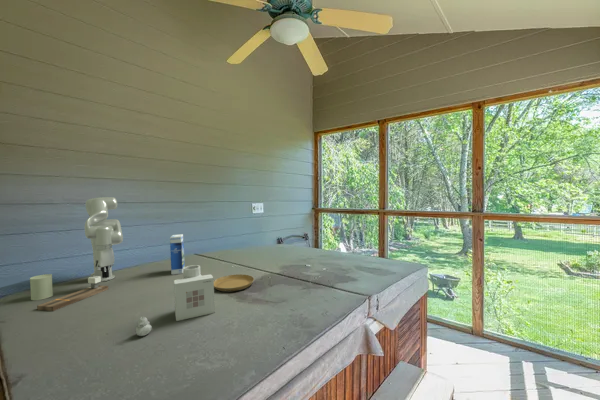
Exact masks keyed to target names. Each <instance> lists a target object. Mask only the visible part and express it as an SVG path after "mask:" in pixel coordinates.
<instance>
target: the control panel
mask: <svg viewBox="0 0 600 400" xmlns="http://www.w3.org/2000/svg"><path fill="white" fill-rule="evenodd" d="M182 274H183V278H178V279H175V280H174V279H173V289H174V290H173V293H174V312H175V313H174V314H175V321H176V322H178V321H183V320H187V319H192V318H197V317H200V316H201V317H202V316H207V315H211V314H214V313H216V310H215V309H216V308H215V288H214V276H213V275H212V274H204V275H202V274H201V265H198V264H197V265H196V264H193V265H187V266H186V265H185V267H184V268H183V273H182Z"/></svg>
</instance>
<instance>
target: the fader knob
mask: <svg viewBox="0 0 600 400" xmlns="http://www.w3.org/2000/svg"><path fill="white" fill-rule="evenodd" d="M87 283H88V284H90V287H91V288H96V287H98V285H99V283H102V282H101V276H91V275H90V277H87Z"/></svg>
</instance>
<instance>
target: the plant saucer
mask: <svg viewBox="0 0 600 400" xmlns="http://www.w3.org/2000/svg"><path fill="white" fill-rule="evenodd" d="M254 281H255V278H254V276H252V275H249V274H243V273H242V274H241V273H238V274H230V275H228V274H227V275H224V276H221V277H217V278H215V280H214V290H217V291H220V292H227V293H228V292H229V293H230V292H238V291H242V290H246V289H247V288H249V287H250V286H252V284H254V283H253V282H254Z"/></svg>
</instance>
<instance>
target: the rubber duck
mask: <svg viewBox="0 0 600 400" xmlns="http://www.w3.org/2000/svg"><path fill="white" fill-rule="evenodd" d="M137 325H138V326H136V328H135V333H136V335H137V336H139V337H144V336H146V335H148V334H149V333H150V332H151V331H152V328H153V327H152V325H151V324H150V321H148V318H147V317H145V316H143V315H141V316H140V317H139V319H138V321H137Z"/></svg>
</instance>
